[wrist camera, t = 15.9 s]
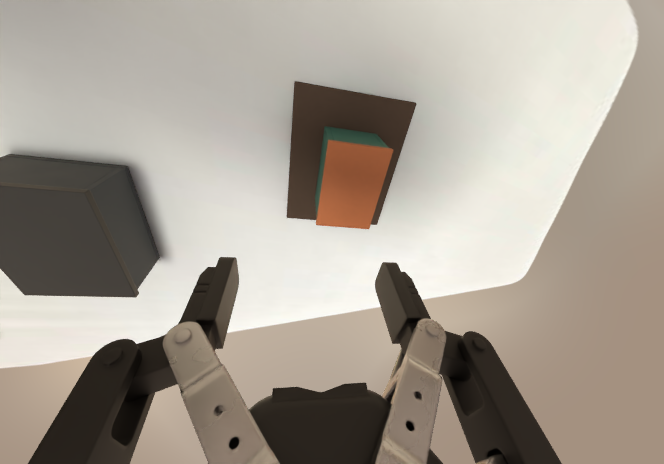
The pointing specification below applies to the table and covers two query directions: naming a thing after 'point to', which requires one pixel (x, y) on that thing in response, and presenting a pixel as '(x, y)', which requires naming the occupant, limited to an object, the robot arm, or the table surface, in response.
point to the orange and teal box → (350, 177)
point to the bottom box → (72, 228)
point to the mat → (345, 113)
